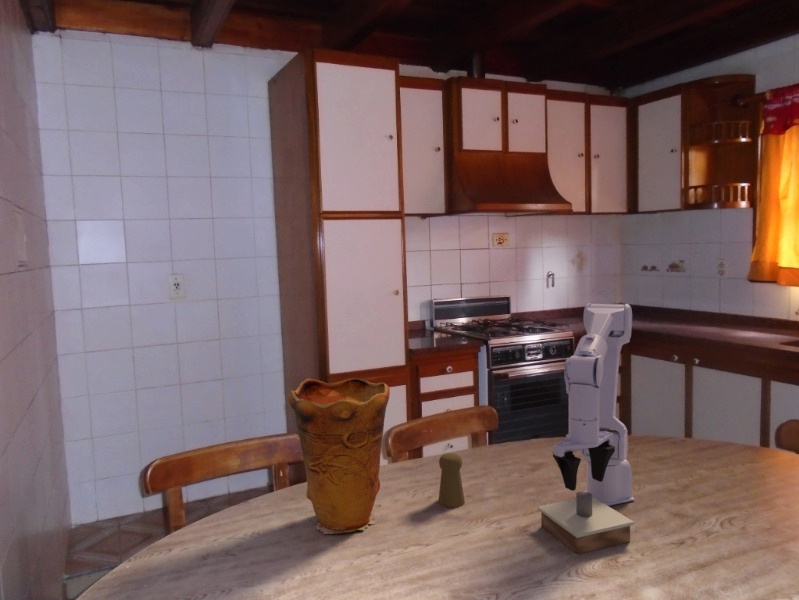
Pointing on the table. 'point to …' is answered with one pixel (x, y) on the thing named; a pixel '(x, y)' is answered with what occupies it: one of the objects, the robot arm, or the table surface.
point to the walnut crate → (586, 537)
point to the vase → (341, 448)
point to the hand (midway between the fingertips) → (584, 484)
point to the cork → (451, 481)
